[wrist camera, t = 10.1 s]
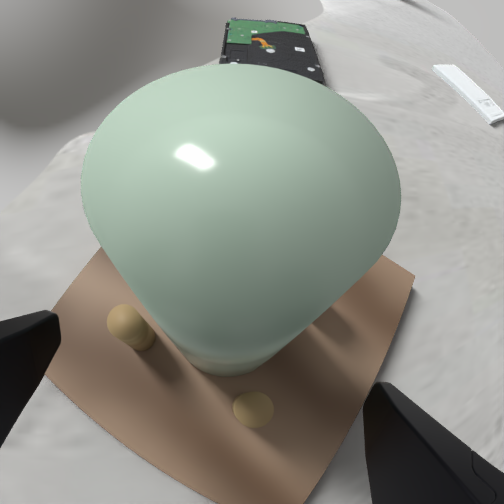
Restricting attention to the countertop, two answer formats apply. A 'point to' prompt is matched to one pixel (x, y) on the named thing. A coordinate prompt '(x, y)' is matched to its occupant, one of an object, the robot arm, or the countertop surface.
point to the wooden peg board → (225, 386)
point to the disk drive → (271, 46)
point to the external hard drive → (470, 92)
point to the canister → (239, 206)
